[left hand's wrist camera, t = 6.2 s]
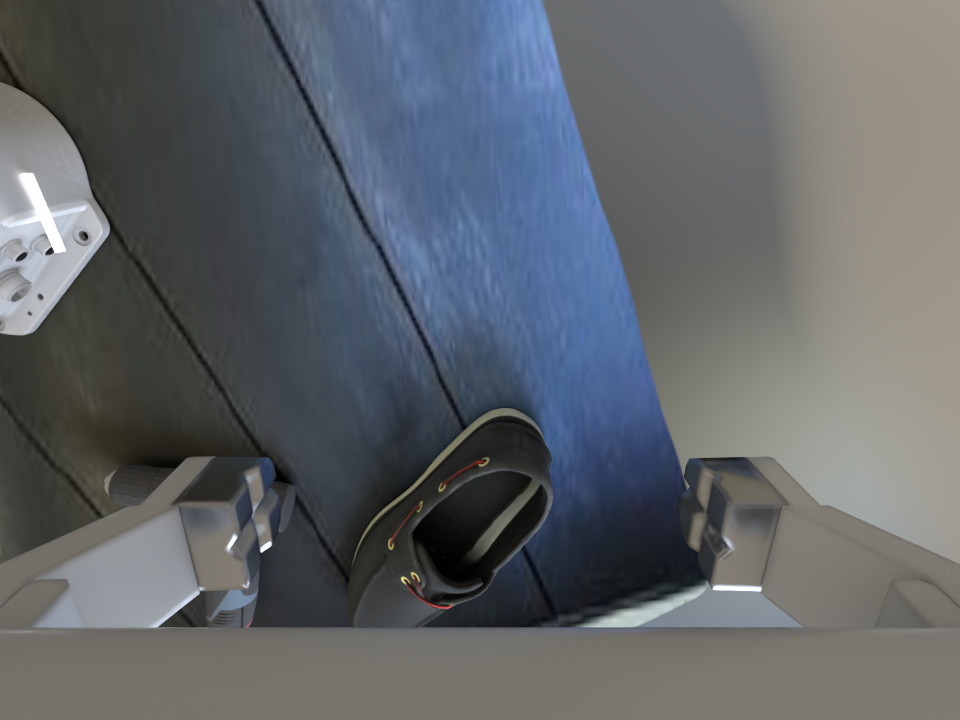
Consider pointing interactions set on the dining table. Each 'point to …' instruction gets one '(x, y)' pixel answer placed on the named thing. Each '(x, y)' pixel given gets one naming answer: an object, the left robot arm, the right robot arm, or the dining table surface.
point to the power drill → (221, 605)
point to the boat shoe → (453, 525)
